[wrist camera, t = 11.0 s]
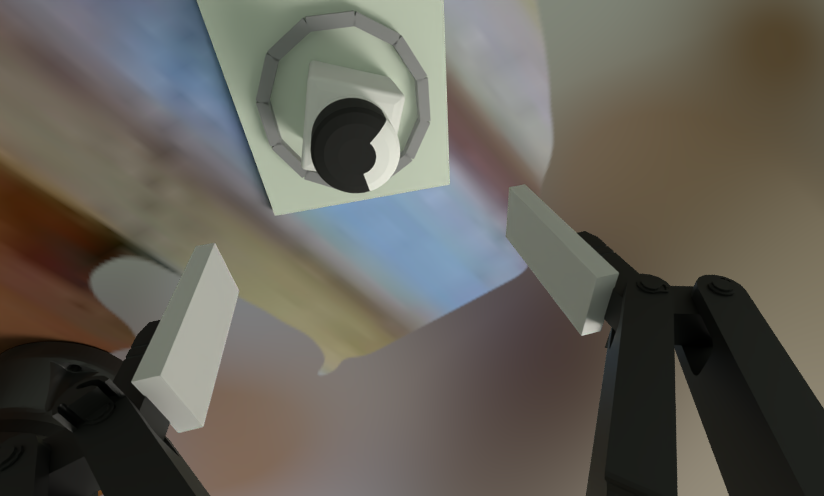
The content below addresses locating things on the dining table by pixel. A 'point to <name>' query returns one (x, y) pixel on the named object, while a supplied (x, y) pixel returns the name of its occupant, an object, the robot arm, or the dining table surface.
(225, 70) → the socket board
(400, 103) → the medicine bottle
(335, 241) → the dining table surface
